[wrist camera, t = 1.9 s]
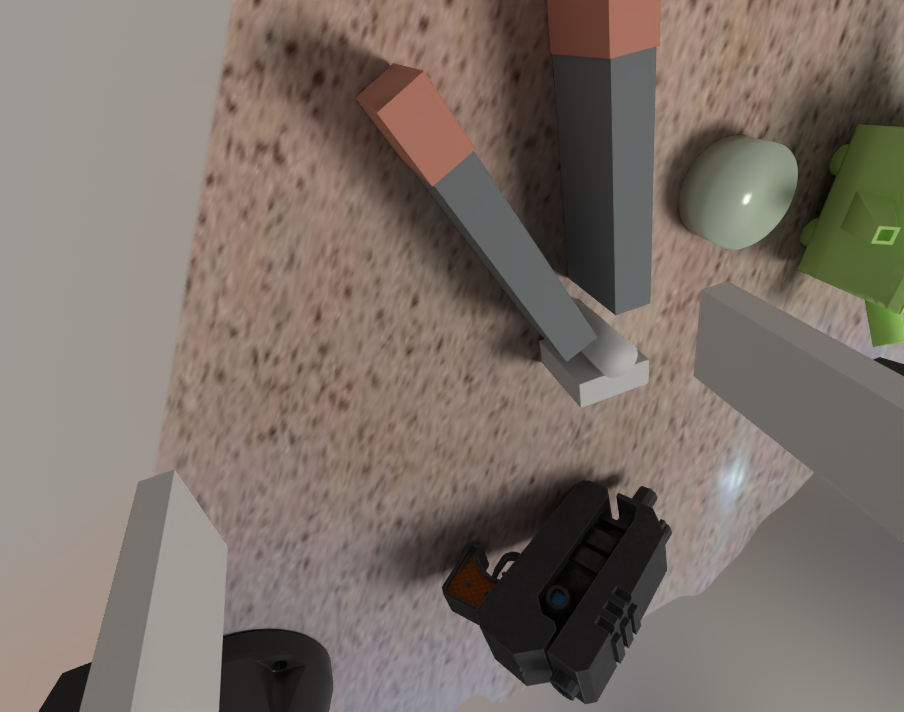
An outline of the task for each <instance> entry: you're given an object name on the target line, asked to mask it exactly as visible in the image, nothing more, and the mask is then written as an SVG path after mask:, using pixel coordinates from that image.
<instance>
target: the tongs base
mask: <svg viewBox="0 0 904 712" xmlns="http://www.w3.org/2000/svg"><path fill="white" fill-rule="evenodd" d="M660 6H661V0H547V14H548V27H549V40H550V54H552V58H553V72H554V86H555V99H556V113H557V127H558V140H559V154H560V168H561V181H562V195H563V209H564V222H565V236H566V250H567V263H568V277H569V279H570V280H572V281H573V282H574V283H575V284H577V285H578V286H579V287H581V288H582V289H583V290H584V291H586V292H587V293H588V294H589V295H591V296H592V297H593V298H594V299H596V300H597V301H598V302H599V303H601V304H602V305H603V306H605V307H606V308H607V309H608V310H610V311H611V312H612V313H613V314H615V315H618V314H621V313H623V312H626V311H629V310H632V309H635V308H638V307H641V306H644V305H646V304H649V303H650V293H651V250H652V207H653V165H654V122H655V79H656V46H659V44H660ZM573 301H574V302H575V304H576V305H577V307H578V308H579V310H580V311H581V313H582V314H583V316H584V318H585V319H586V321H587V322H588V324H589V325H590V327H591V328H592V330H593V331H594V333H595V334H596V336H597V338H596V339H595V340H594V341H592V342H591V343H590V344H589V345H587V346H586V347H585V348H584V349H582V350H581V351H580V352H579V353H577V354H576V355H575V356H574V357H572V358H571V359H570V360H569V361H567V362H566V361H565V360H564V359H563V358H562V357H561V356H560V355H559V354H558V352H557V351H556V350H555V349H554V348H553V347H552V346H551V345H550V344H549V343H548V342H547V341H546V340H545V339H543V340H540V341H539V343H540V351H541V360H542V363H543V364H544V366H545V367H546V368H547V369H548V370H549V371H550V373H551V374H552V375H553V376H554V377H555V378H556V380H557V381H558V382H559V383H560V384H561V385H562V386H563V388H564V389H565V390H566V391H567V392H568V393H569V395H570V396H571V397H572V398H573V399H574V400H575V402H576V403H577V404H578V405H579V406H580V407H581V408H582V407H585V406H588V405H590V404H593V403H596V402H598V401H601V400H604V399H607V398H609V397H612V396H615V395H617V394H620V393H623V392H625V391H628V390H631V389H633V388H636V387H639V386H641V385H644V384H647V383H648V378H649V359H648V358H647V357H646V356H644V355H643V354H642V353H641V352H640V351H638V350H637V348H636V347H635V346H634V345H633V344H632V343H631V342H630V341H628V340H627V339H626V338H625V337H624V336H622V335H621V334H620V333H619V332H618V331H616V330H615V329H614V328H613V327H612V326H610V325H609V324H608V323H607V322H606V321H604V320H603V319H602V318H601V317H600V316H598V315H597V314H596V313H595V312H594V311H592V310H591V309H590V308H589V307H588V306H586V305H585V304H584V303H583V302H582V301H580V300H578V299H573Z"/></svg>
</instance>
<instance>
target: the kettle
mask: <svg viewBox="0 0 904 712" xmlns="http://www.w3.org/2000/svg"><path fill="white" fill-rule="evenodd" d="M829 168H830V172H831V173H832V174H833V175H835V176H836V178H835V180H834V182H833V185H832V187H831V190H830V192H829V194H828V197H827V199H826V202H825V204H824V206H823V209H822V211H821V214H820V216H819V218H815V219H813V220H811V221H810V222H809V223H808V224H807V225H806V226H805V227H804V229H803V230H802V233H801V236H800V241H801V243H802V244H803V245H805V246H807V247H806V250H805V252H804V255H803V257H802V259H801V262H800V264H799V267H798V269H797V270H798V271H801V272H803V273H805V274H807V275H810V276H812V277H814V278H817V279H819V280H821V281H823V282H826V283H828V284H830V285H832V286H835V287H837V288H839V289H841V290H844V291H846V292H848V293H850V294H853V295H855V296H857V297H859V298H862V299H864V300H865V305H866V310H867V316H868V322H869V327H870V333H871V339H872V345H873V347H875V346H883V345H891V344H897V343H904V321H903V316H902V314H903V313H904V127H903V126H882V125H862V124H858V125H857V127H856V130H855V132H854V134H853V137H852V139H851V142H850V144H845V145H843V146H841V147H840V148H839V149H838V150H837V151H836V152H835V153H834V155H833V157H832V159H831V161H830V167H829Z"/></svg>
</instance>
